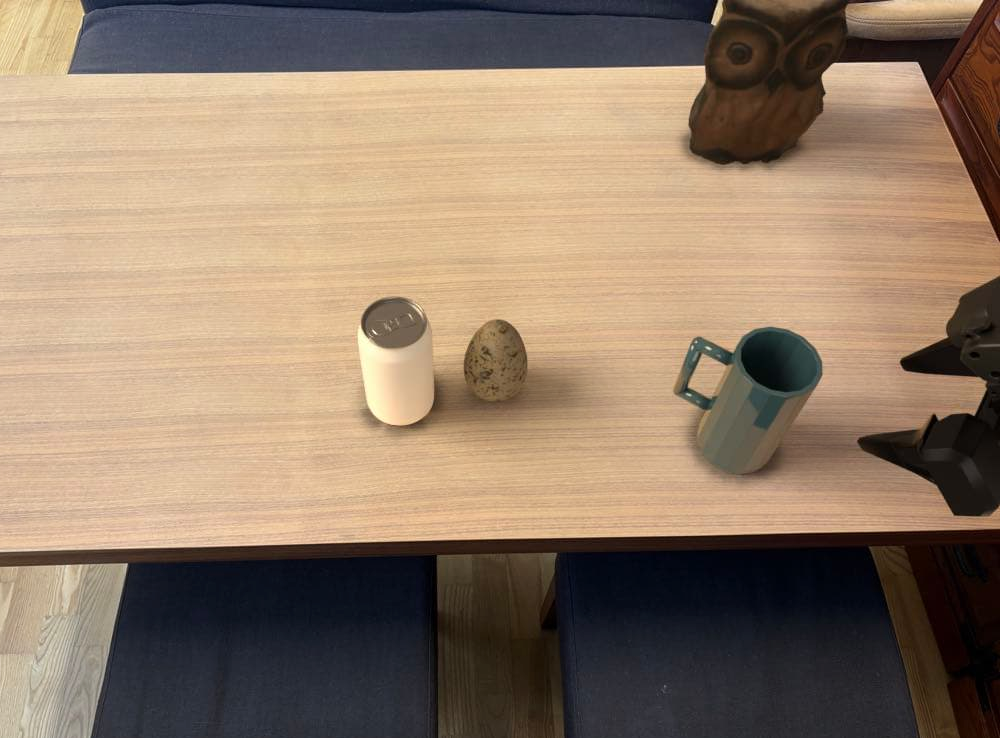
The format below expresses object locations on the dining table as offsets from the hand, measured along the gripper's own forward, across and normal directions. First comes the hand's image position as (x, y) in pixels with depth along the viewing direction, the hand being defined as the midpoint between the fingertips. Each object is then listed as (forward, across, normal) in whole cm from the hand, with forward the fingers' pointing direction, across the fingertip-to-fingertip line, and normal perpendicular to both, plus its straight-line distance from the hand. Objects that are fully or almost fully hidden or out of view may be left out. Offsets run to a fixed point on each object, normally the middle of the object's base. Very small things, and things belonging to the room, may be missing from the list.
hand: (881, 403), depth 66 cm
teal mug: (+17, +1, +1) cm, 17 cm away
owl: (+28, -40, -11) cm, 50 cm away
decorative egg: (+30, +9, -13) cm, 34 cm away
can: (+34, +15, -18) cm, 42 cm away
